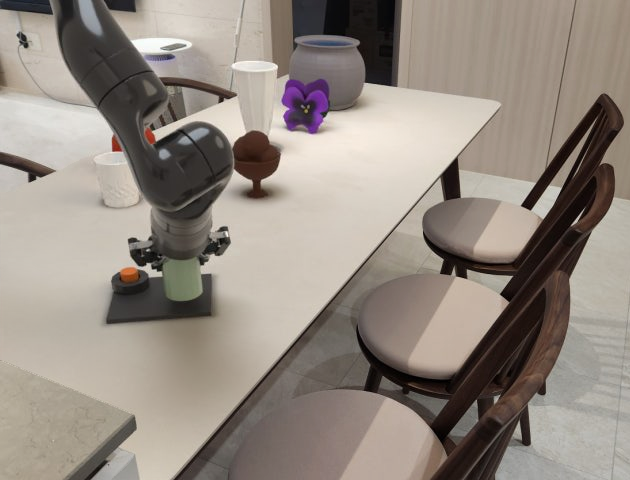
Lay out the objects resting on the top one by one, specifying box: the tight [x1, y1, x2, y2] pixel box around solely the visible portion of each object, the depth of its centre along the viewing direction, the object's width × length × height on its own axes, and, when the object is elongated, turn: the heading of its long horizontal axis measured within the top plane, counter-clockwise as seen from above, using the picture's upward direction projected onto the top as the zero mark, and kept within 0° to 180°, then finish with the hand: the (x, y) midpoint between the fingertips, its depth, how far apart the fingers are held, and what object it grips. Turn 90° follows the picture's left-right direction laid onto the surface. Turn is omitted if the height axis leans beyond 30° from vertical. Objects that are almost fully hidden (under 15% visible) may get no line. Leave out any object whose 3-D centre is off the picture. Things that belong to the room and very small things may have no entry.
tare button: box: [119, 266, 139, 283], centre depth 101 cm, size 3×3×2 cm
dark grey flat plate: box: [105, 268, 213, 325], centre depth 100 cm, size 15×12×3 cm
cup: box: [230, 60, 281, 153], centre depth 160 cm, size 12×12×22 cm
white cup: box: [93, 151, 140, 209], centre depth 130 cm, size 8×8×10 cm
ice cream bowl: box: [232, 130, 282, 199], centre depth 135 cm, size 11×11×15 cm
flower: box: [280, 79, 330, 135], centre depth 185 cm, size 15×15×14 cm
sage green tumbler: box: [161, 257, 203, 301], centre depth 96 cm, size 6×6×8 cm
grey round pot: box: [288, 34, 366, 111], centre depth 205 cm, size 25×25×20 cm
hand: (179, 262), depth 97 cm, fingers closed on sage green tumbler, 5 cm apart
